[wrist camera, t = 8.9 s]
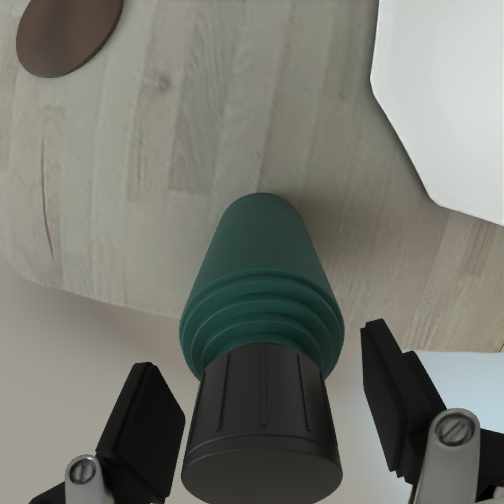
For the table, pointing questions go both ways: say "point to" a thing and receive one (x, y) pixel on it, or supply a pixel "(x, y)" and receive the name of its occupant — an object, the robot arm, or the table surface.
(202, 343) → the bottle
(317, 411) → the cap
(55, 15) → the lid
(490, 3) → the plate
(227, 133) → the table surface
